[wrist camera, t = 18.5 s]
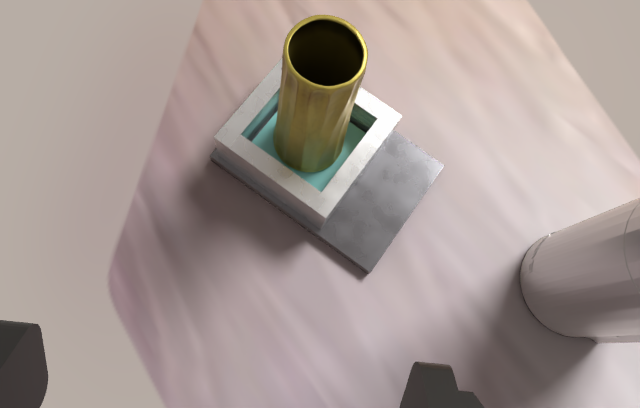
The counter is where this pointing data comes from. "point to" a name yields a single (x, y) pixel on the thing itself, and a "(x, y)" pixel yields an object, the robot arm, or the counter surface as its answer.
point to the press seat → (313, 178)
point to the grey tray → (347, 184)
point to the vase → (318, 91)
